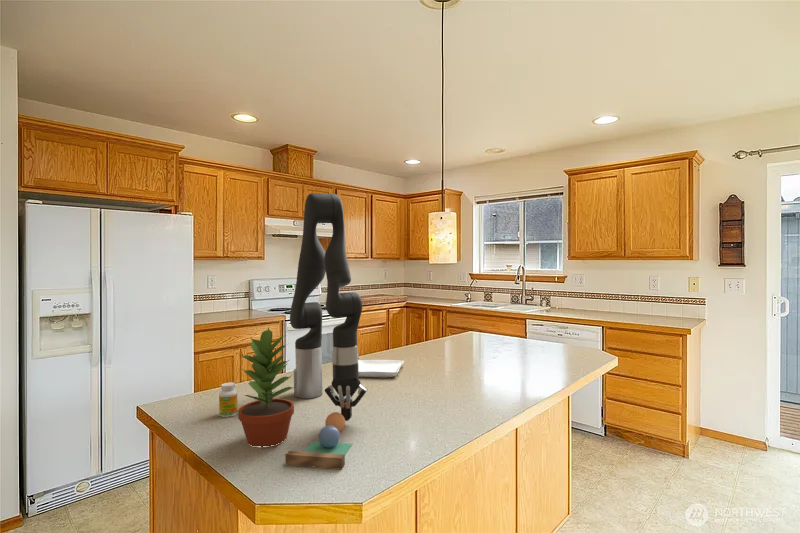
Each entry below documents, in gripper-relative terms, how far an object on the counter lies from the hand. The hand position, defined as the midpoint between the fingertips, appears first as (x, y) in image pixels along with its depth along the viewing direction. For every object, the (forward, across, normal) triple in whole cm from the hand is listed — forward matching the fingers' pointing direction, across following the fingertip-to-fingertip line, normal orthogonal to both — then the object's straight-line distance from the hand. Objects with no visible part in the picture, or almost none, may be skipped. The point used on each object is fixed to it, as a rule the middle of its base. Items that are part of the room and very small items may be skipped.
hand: (346, 419), depth 125 cm
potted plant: (+2, -18, -13) cm, 22 cm away
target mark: (+2, 0, -18) cm, 18 cm away
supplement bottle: (+2, -40, +3) cm, 40 cm away
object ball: (-1, 0, -15) cm, 15 cm away
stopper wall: (+2, 0, -24) cm, 25 cm away
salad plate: (+2, -5, +58) cm, 58 cm away
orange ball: (-1, -2, -6) cm, 6 cm away
